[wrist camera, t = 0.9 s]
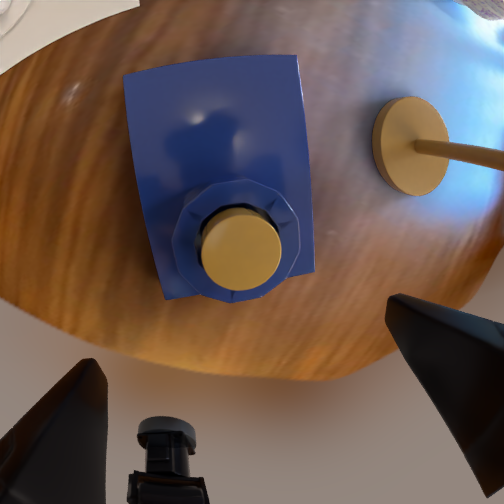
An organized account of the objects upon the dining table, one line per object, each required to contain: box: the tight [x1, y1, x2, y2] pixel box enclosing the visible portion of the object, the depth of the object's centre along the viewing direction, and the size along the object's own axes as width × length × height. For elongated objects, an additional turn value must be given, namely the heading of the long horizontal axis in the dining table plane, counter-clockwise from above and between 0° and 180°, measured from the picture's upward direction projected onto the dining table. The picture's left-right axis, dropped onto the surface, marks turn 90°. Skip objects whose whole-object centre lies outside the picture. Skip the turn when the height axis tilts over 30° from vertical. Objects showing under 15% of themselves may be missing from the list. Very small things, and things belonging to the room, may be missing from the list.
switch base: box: [123, 55, 315, 303], centre depth 16 cm, size 14×10×4 cm
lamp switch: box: [201, 207, 282, 291], centre depth 15 cm, size 4×4×2 cm
